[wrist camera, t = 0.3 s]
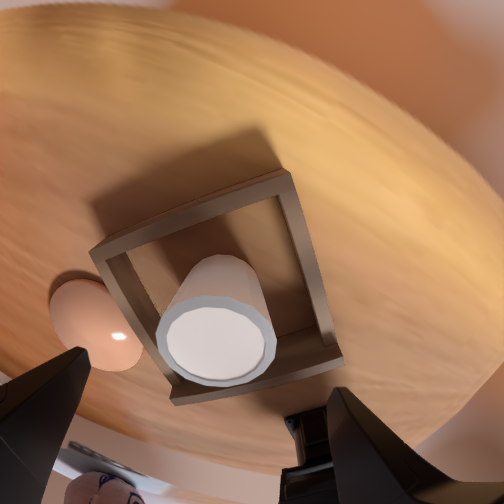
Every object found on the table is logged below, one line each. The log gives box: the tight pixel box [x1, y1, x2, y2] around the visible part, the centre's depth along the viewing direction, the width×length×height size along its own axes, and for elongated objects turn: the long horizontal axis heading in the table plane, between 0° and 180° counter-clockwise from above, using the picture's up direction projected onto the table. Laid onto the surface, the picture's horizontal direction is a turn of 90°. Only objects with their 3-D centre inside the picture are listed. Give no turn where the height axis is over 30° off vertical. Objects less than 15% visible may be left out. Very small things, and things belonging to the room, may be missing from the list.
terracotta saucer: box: [50, 279, 144, 371], centre depth 23 cm, size 10×10×1 cm
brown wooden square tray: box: [89, 168, 345, 406], centre depth 19 cm, size 14×14×4 cm
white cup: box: [156, 255, 277, 387], centre depth 18 cm, size 7×7×7 cm
